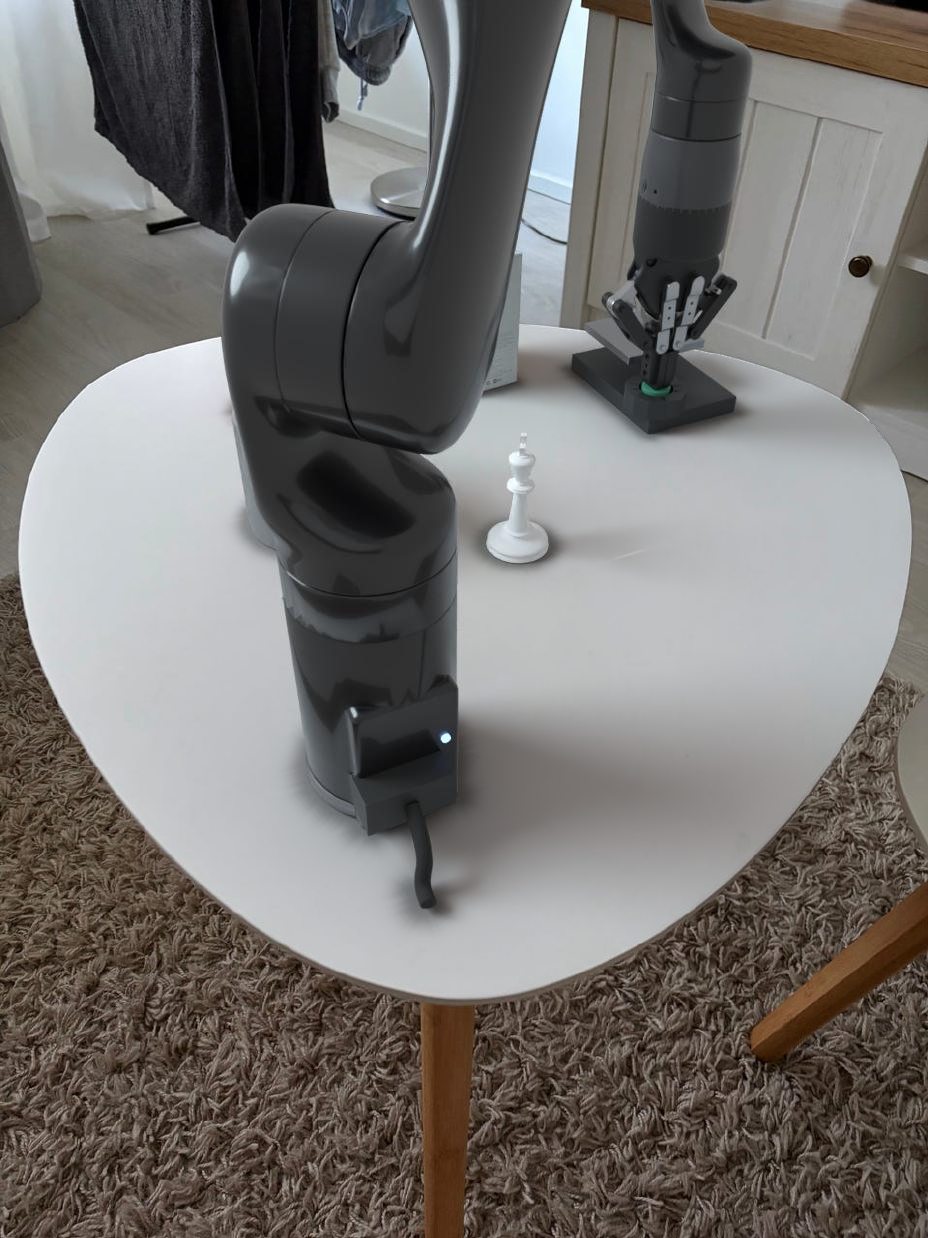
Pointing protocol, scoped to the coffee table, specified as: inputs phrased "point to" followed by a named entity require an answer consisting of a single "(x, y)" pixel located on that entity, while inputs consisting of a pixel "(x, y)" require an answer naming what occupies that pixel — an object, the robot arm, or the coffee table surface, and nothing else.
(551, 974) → the coffee table surface
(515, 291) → the small box
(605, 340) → the pan
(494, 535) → the chess piece
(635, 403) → the scale
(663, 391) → the tare button
